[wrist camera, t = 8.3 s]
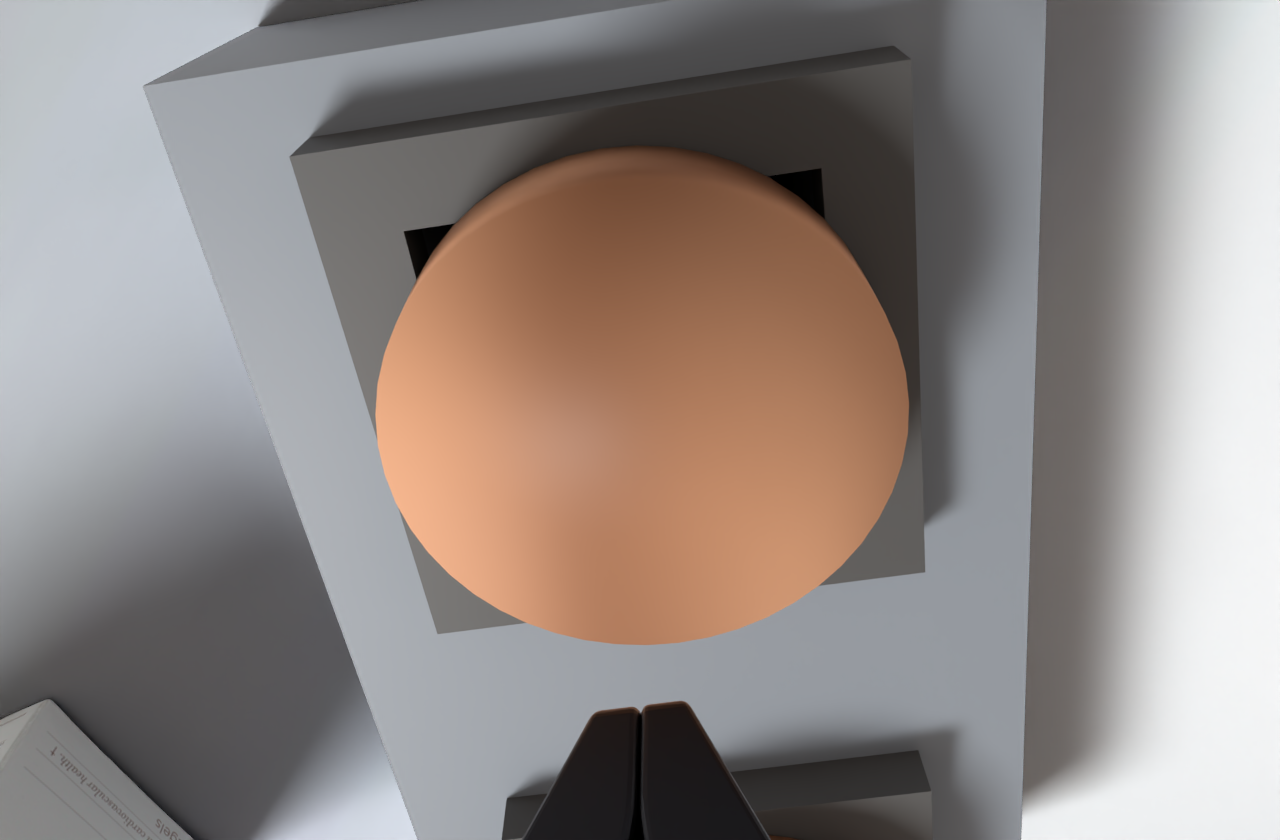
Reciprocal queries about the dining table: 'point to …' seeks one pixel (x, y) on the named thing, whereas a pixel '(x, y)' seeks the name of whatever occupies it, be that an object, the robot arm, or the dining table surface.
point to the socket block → (727, 128)
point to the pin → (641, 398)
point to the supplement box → (69, 785)
